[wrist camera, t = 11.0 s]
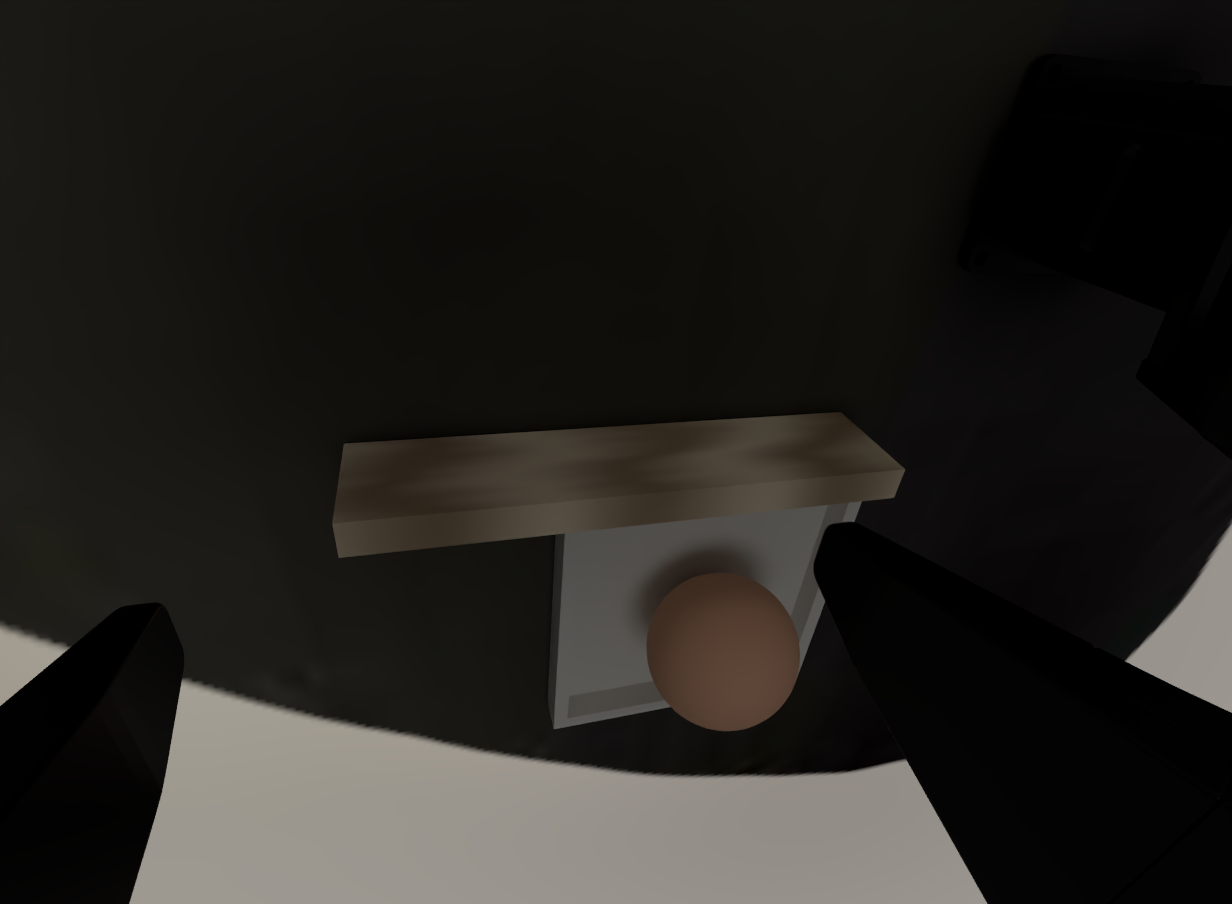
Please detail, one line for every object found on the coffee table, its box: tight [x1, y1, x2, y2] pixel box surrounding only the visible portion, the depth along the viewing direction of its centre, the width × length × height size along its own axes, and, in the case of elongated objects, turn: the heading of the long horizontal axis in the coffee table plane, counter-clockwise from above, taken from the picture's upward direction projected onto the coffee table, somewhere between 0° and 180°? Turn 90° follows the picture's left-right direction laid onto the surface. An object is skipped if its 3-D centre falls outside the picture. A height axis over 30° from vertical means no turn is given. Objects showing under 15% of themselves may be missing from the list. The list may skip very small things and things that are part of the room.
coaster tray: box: [548, 501, 862, 729], centre depth 27 cm, size 12×12×2 cm
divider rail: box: [332, 412, 905, 558], centre depth 21 cm, size 18×1×4 cm, turn 85°
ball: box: [646, 572, 800, 731], centre depth 25 cm, size 6×6×6 cm
